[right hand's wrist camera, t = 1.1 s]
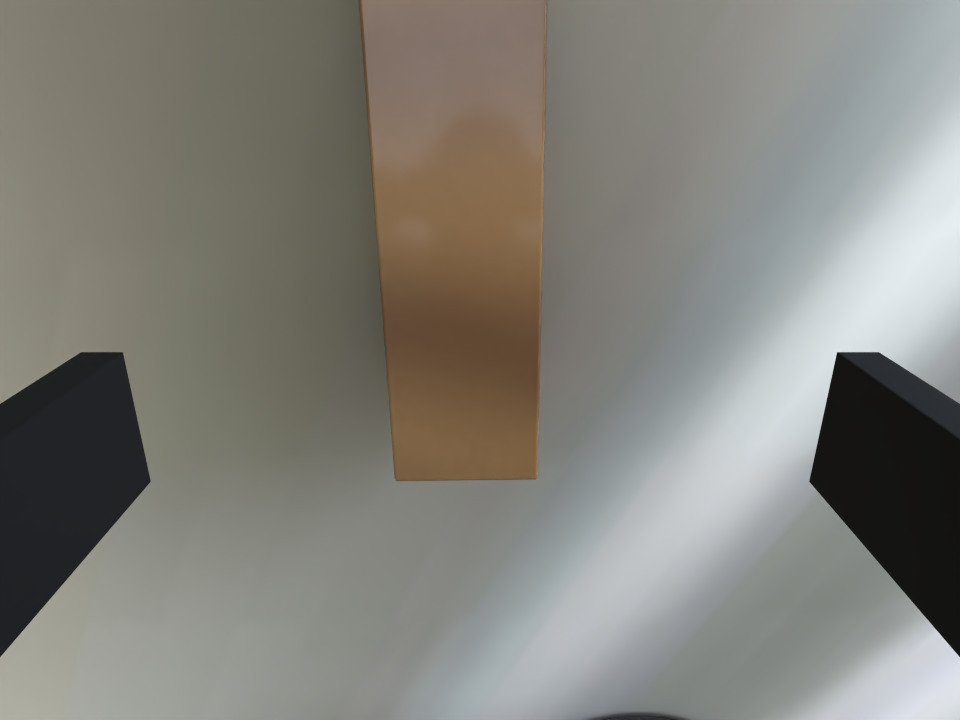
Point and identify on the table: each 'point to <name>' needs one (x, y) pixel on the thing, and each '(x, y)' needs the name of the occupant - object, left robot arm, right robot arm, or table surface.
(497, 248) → the bar
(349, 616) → the table surface
